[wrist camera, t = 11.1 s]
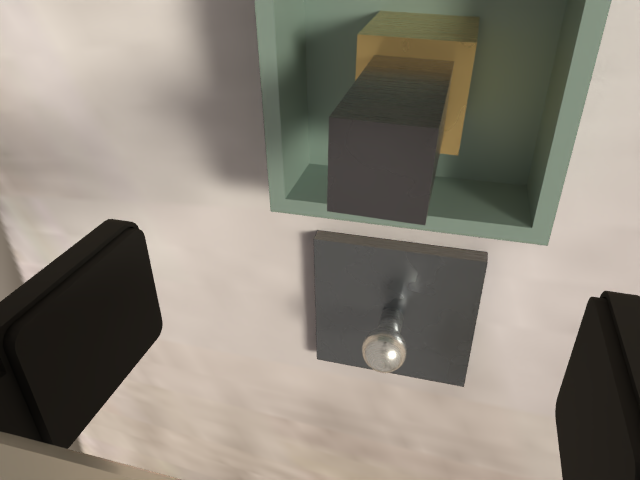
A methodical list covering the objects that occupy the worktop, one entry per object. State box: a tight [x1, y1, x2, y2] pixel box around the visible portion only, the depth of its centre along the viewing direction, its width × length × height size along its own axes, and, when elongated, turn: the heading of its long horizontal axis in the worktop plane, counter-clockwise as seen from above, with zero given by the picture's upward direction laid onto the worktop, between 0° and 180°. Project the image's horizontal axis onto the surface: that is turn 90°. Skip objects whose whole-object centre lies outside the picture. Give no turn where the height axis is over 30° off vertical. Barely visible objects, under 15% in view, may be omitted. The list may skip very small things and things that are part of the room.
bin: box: [254, 0, 611, 246], centre depth 23 cm, size 13×13×5 cm
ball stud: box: [314, 231, 488, 387], centre depth 32 cm, size 10×10×5 cm
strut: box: [327, 11, 480, 225], centre depth 20 cm, size 4×4×12 cm
